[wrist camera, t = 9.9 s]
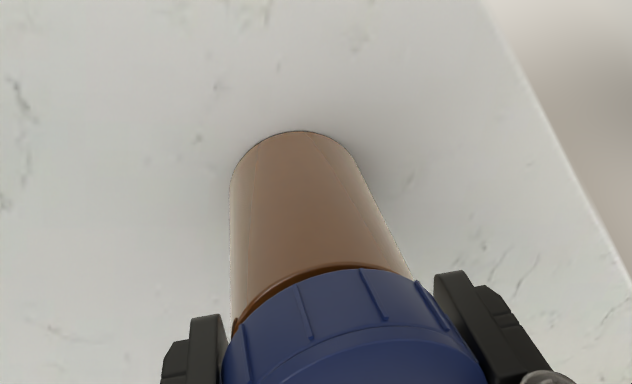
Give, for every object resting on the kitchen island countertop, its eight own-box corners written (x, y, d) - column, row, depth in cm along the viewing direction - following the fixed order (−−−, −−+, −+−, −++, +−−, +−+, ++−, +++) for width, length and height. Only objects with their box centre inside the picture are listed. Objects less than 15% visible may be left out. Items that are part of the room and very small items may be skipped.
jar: (200, 186, 19) (179, 417, 10) (309, 102, 18) (385, 282, 10) (284, 266, 22) (323, 506, 13) (384, 197, 21) (497, 407, 12)
